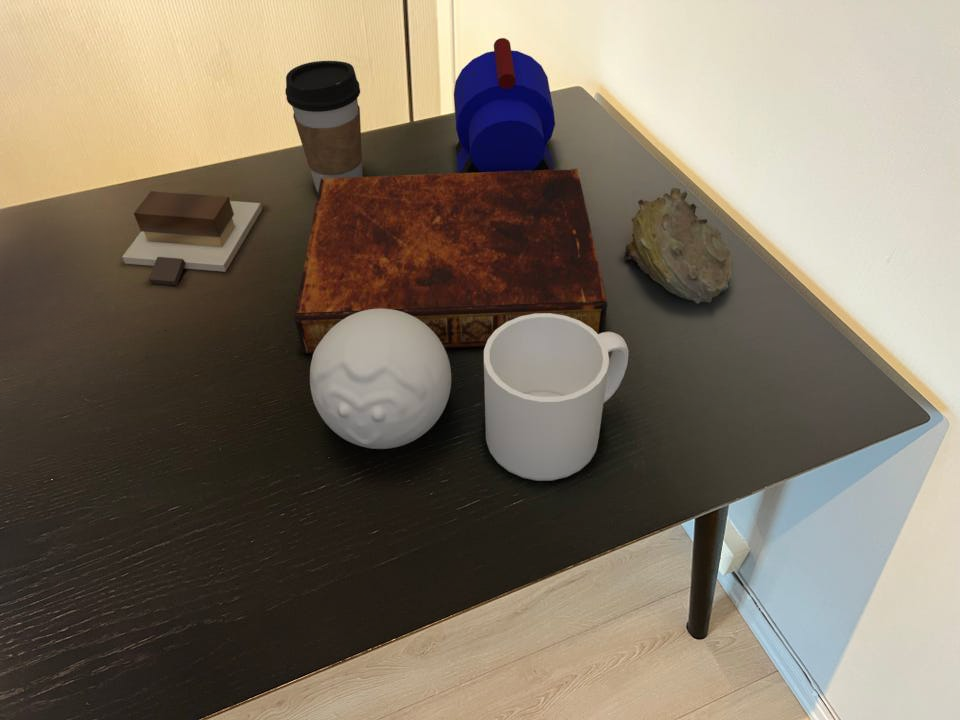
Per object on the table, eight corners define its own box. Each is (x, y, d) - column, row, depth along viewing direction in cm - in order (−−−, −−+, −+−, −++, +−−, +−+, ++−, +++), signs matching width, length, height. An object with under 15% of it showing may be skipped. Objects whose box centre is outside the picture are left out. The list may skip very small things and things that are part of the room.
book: (303, 355, 78) (293, 318, 75) (327, 213, 95) (321, 177, 92) (602, 343, 79) (607, 305, 75) (574, 204, 96) (577, 168, 92)
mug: (513, 498, 66) (514, 418, 59) (468, 414, 73) (464, 333, 65) (644, 450, 69) (661, 368, 62) (590, 374, 76) (599, 292, 68)
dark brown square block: (151, 283, 87) (148, 279, 86) (160, 260, 88) (157, 256, 88) (177, 285, 87) (174, 281, 86) (185, 262, 88) (182, 258, 87)
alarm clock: (546, 139, 106) (551, 27, 96) (558, 190, 98) (565, 74, 87) (455, 143, 106) (450, 32, 95) (459, 195, 97) (454, 79, 87)
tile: (124, 263, 89) (121, 256, 89) (169, 203, 98) (167, 196, 97) (225, 272, 88) (223, 265, 87) (262, 209, 96) (260, 202, 96)
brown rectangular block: (145, 242, 90) (133, 213, 88) (161, 219, 94) (150, 190, 91) (223, 248, 89) (213, 219, 87) (237, 225, 92) (228, 196, 90)
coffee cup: (355, 210, 96) (337, 93, 85) (293, 199, 98) (267, 83, 87) (384, 174, 101) (369, 60, 90) (324, 163, 103) (303, 51, 93)
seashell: (656, 334, 81) (679, 263, 73) (597, 242, 90) (611, 169, 82) (749, 310, 84) (781, 239, 76) (683, 223, 92) (705, 150, 85)
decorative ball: (304, 468, 69) (276, 373, 60) (344, 369, 77) (324, 273, 68) (439, 485, 67) (429, 390, 59) (465, 383, 75) (460, 286, 67)
